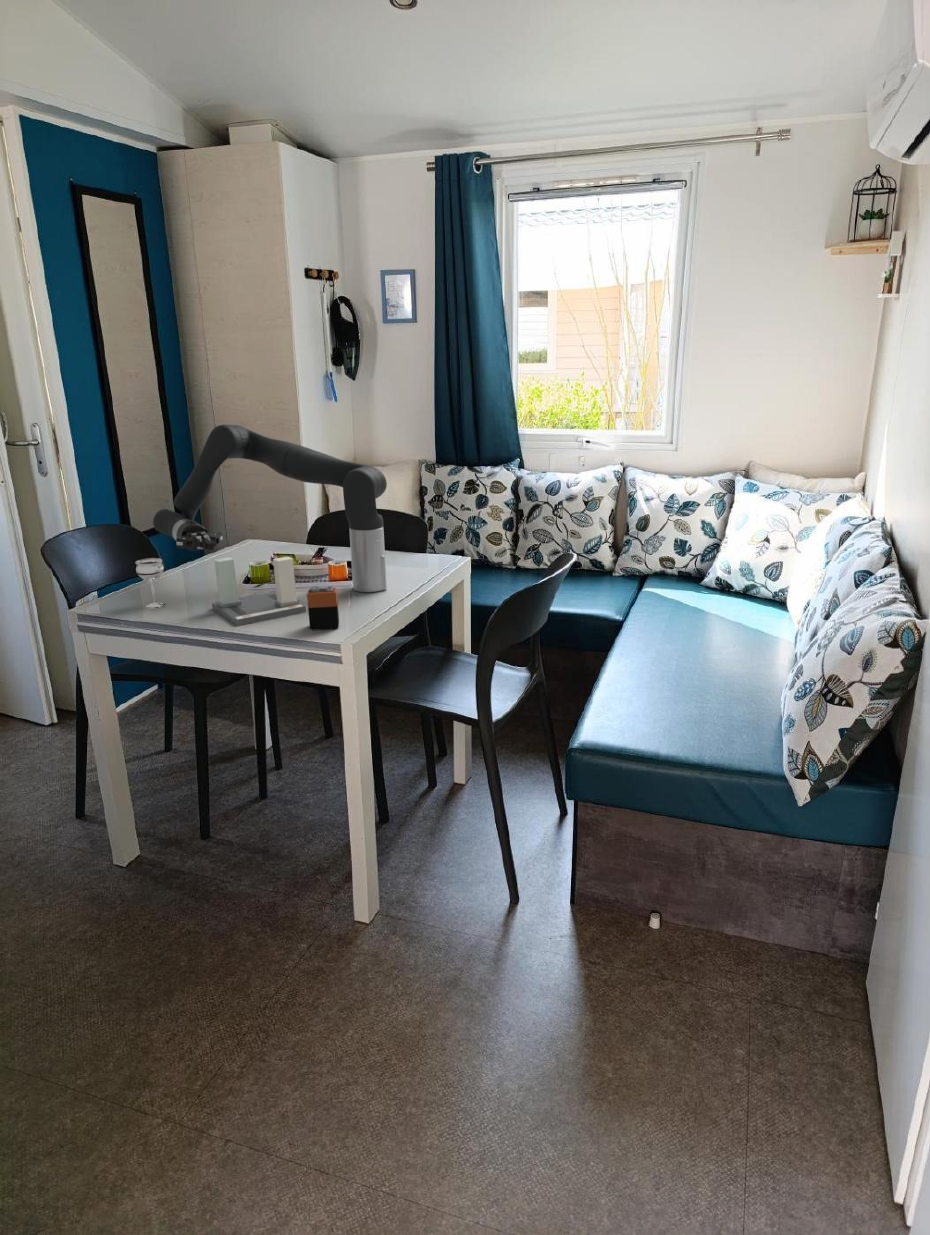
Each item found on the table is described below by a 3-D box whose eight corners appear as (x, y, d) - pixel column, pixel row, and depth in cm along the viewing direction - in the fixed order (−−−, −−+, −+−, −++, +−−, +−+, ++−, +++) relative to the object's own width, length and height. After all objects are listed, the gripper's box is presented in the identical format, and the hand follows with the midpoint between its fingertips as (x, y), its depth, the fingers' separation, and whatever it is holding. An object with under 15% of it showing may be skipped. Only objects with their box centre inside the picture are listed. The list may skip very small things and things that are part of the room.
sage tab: (216, 604, 210) (211, 559, 206) (235, 600, 213) (230, 556, 209) (222, 607, 207) (216, 562, 203) (241, 604, 210) (236, 559, 206)
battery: (310, 624, 198) (307, 585, 195) (339, 623, 199) (336, 583, 196) (309, 630, 194) (306, 590, 191) (338, 629, 195) (335, 588, 191)
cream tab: (274, 603, 210) (270, 558, 206) (293, 600, 212) (289, 555, 209) (281, 607, 206) (276, 562, 203) (299, 603, 209) (295, 558, 205)
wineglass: (174, 603, 217) (168, 559, 213) (153, 610, 211) (146, 565, 207) (157, 600, 220) (150, 556, 216) (135, 607, 214) (129, 562, 211)
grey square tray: (212, 608, 212) (211, 602, 212) (277, 595, 222) (277, 590, 221) (237, 625, 198) (236, 619, 198) (305, 611, 208) (305, 605, 207)
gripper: (163, 524, 221) (183, 535, 208) (212, 518, 229) (234, 529, 215) (167, 551, 224) (186, 564, 210) (214, 544, 231) (236, 556, 218)
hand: (210, 546), depth 213 cm, fingers closed
